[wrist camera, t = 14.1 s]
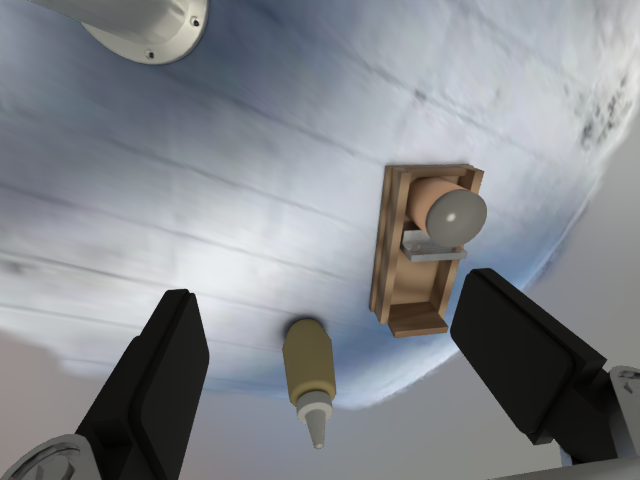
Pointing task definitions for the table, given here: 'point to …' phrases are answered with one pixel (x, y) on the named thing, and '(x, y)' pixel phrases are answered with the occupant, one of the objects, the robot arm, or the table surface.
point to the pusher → (426, 246)
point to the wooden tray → (396, 269)
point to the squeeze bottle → (310, 375)
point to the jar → (445, 210)
